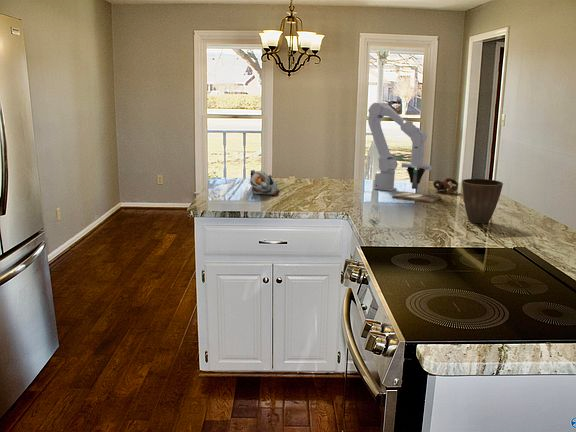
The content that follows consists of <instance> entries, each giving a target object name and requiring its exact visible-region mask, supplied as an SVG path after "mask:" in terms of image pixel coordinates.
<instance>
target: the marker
mask: <svg viewBox="0 0 576 432" xmlns="http://www.w3.org/2000/svg"><path fill="white" fill-rule="evenodd" d="M417 170H418V169H415V170H413V178H412V183H411V189H413V190H418V186H419V184H417V178H418V171H417Z"/></svg>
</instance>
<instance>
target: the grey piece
mask: <svg viewBox="0 0 576 432" xmlns="http://www.w3.org/2000/svg"><path fill="white" fill-rule="evenodd" d="M249 180H250V182H249V184H250V185H251V193H252V194H253V195H269V196H270V195H271V196H276V195H279V194H280V193H281V190H280V189H279V188H278V185H277V182H276V181H275V180H274V179H273V176H272V175H271V174H269V175H268V174H267V173H266V172H264V171H262V170H257V171H255V169H252V170H250V179H249Z"/></svg>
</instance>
